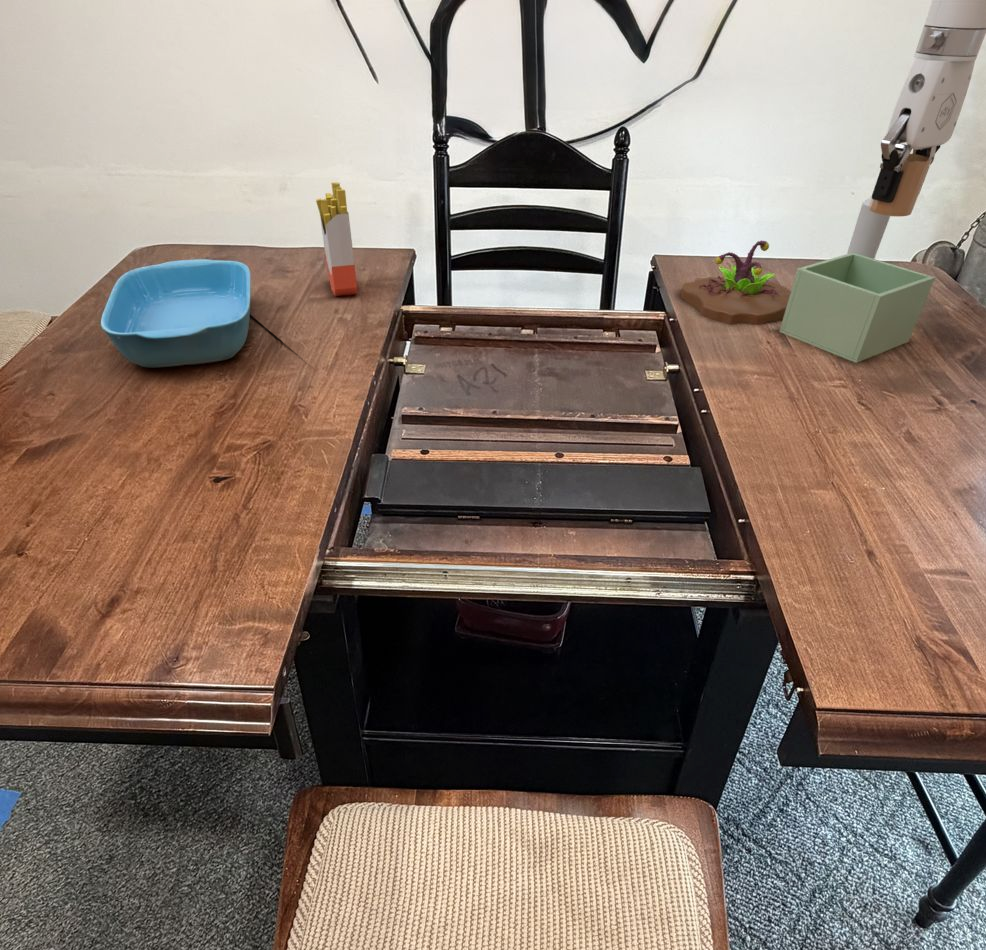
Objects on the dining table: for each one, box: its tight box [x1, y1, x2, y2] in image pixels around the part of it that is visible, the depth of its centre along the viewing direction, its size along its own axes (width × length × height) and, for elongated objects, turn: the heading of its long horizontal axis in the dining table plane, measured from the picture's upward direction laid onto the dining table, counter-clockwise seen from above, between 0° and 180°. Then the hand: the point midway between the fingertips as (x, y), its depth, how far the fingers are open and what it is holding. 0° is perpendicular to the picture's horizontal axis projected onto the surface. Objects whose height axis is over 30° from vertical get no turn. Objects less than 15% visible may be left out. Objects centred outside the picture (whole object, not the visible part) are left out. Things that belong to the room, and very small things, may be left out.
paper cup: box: [869, 153, 932, 217], centre depth 104 cm, size 6×6×7 cm
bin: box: [779, 253, 936, 364], centre depth 118 cm, size 15×15×11 cm
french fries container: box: [315, 181, 358, 297], centre depth 130 cm, size 5×11×18 cm, turn 17°
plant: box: [680, 240, 791, 326], centre depth 129 cm, size 20×20×11 cm
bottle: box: [846, 150, 903, 259], centre depth 127 cm, size 5×5×25 cm
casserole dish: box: [100, 258, 252, 369], centre depth 118 cm, size 37×22×7 cm, turn 14°
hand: (895, 196), depth 106 cm, fingers closed on paper cup, 6 cm apart
